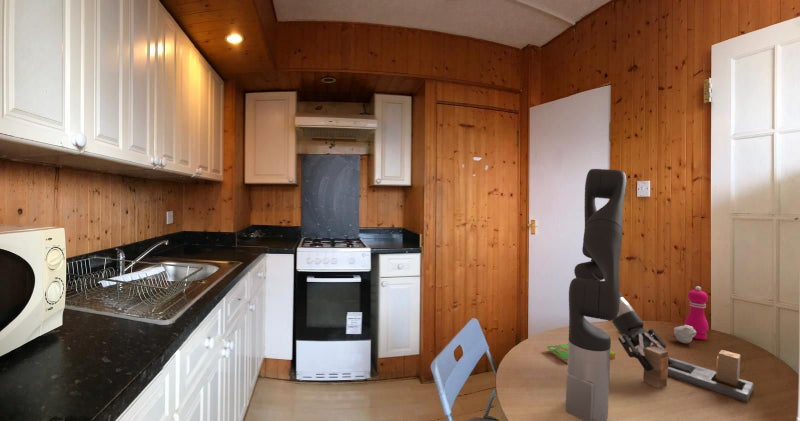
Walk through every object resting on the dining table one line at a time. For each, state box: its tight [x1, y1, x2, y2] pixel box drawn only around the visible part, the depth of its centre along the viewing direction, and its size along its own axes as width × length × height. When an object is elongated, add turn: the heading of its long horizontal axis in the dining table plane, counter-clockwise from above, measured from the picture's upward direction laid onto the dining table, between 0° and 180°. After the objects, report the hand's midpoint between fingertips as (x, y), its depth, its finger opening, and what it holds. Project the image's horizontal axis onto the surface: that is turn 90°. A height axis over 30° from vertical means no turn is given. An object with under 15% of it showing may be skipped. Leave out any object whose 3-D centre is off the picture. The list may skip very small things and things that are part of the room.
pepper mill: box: [684, 285, 710, 340], centre depth 136 cm, size 7×7×20 cm
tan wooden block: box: [642, 346, 669, 389], centre depth 100 cm, size 4×4×10 cm
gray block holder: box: [668, 349, 754, 403], centre depth 103 cm, size 20×10×10 cm, turn 38°
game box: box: [545, 344, 616, 364], centre depth 118 cm, size 3×10×20 cm
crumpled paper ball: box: [673, 324, 696, 344], centre depth 130 cm, size 6×7×7 cm
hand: (660, 367), depth 99 cm, fingers open, 8 cm apart
